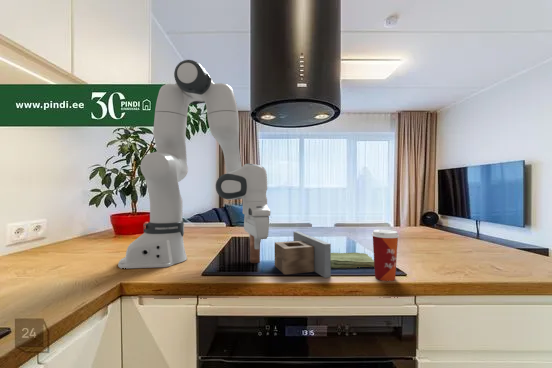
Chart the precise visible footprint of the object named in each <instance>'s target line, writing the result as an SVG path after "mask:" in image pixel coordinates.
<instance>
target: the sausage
mask: <svg viewBox="0 0 552 368" xmlns="http://www.w3.org/2000/svg"><path fill="white" fill-rule="evenodd" d="M254 241H255V240H254V236H252V235H251V234H250V237H249V262H250V263H252V264H257V263H260V262H261V261H260V260H261V251H260V250H261V248H260V249H254Z"/></svg>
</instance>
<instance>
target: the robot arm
mask: <svg viewBox="0 0 552 368" xmlns="http://www.w3.org/2000/svg"><path fill="white" fill-rule="evenodd" d="M173 74H174V75H173V76H174V77H173V78H174V81H175V83H166V84H163V85H162V86H161V87H160V88H159V91H158V95H157V97H156V98H157V99H156V103H155V110H154V119H153V120H154V121H153V130H152V131H153V132H152V135H153V138H154V141H155V142H154V143H155V146H156V147H155V148H156V151H154V152H150V153H148V154H146V155H145V156H144V157H143V158H142V159H141V162H140V167H139V168H140V171H141V174H142V176H143V177H144V180H145V184H146V188H147V192H148V193H147V194H148V199H149V221H145V222H144V223H143V233H142V234H141V235H139V237H137V238H136V239H134V240H133V241H132V242H131V243H129V245H128V246H127V249H126V251H125V252H126V253H125V257H123V258H121V259H120V260H119V261H118V264H117V265H118V268H120V269H122V268H124V269H125V268H126V269H148V268H151V269H152V268H169V267H170V266H173V265H176V264H179V263H182V262H184V261H186V260H187V259H188V255H187V253H186V249H185V244H184V243H185V242H184V234H185V224H184V222H185V221H184V220H183V198H182V195H181V191H180V186H179V185H180V184H179V183H180V182H181V181H183V180H184V179H185V178H186V177H187V175H188V172H189V167H188V163H187V162H188V160H187V146H186V133H187V125H188V124H187V121H188V111H189V105H193V106H194V105H199V104H205V106H206V107H205V108H206V115H207V116H206V117H207V122H208V127H209V130H210V134H211V136H212V137H213V138H214V139H215V141H216V142H217V144H219V146H220V149H221V150H222V153H223V157H224V164H225V172H226V173H224V174H221V175H220V176H219V177H218V178H217V179H216V181H215V191H216V193H217V195H218V196H219V197H220V198H222V199H224V200H229V201H231V200H236V201H237V200H241V199H242V214H243V215H244V216H243V217H244V218H243V220H244V221H243V230H244V231H245V232H246V233H247V234H248V236H249V237H248V238H250V234H251V235H252V236H254V240H255V241H254V249H260V250H261V241H262V240H267V239H268V237H269V231H270V229H269V228H270V216H271V209H270V208H269V206H268V197H267V191H268V175H267V170H266V169H265V167H264V166H262V165H261V164H260V165H259V164H254V163H245V164H244V165H242V164H243V163H242V159H241V150H240V122H239V121H240V118H239V111H238V105H237V103H238V102H237V100H236V95H235V93H234V89H233V88H232V87H231V86H230V85H229V84H227V83H222V82H218V83H215V82H214V80H213V79H212V76H211V75H210V73H209V72H207V70H206V69H205V68H204V67H203V65H202V64H201V63H199V62H197V61H195V60H193V59H183V60H182V61H180V62H178V64H177V65H176V67H175V68H174V73H173Z"/></svg>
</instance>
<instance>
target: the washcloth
mask: <svg viewBox="0 0 552 368" xmlns="http://www.w3.org/2000/svg"><path fill="white" fill-rule="evenodd" d="M357 267H359V269H361V268H360V267H374V259H373V257H371V256H370V255H369V254H368V253H364V252H331V269H358V268H357Z"/></svg>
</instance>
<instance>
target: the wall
mask: <svg viewBox="0 0 552 368" xmlns="http://www.w3.org/2000/svg"><path fill="white" fill-rule="evenodd" d="M292 238H293V240H292V241H303V242H305V243H308V244H310V245H312V246H314V273H316V274H318V275H320V276H321V277H322V278H325V279H327V278H331V269H332V268H331V253H332V252H331V250H332V249H331V247H332V246H331V244H332V243H329V242H327V241H324V240H321V239H319V238H316V237H314V236H311V235H308V234H306V233H303V232H301V231H298V230H297V231H293V237H292Z"/></svg>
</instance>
